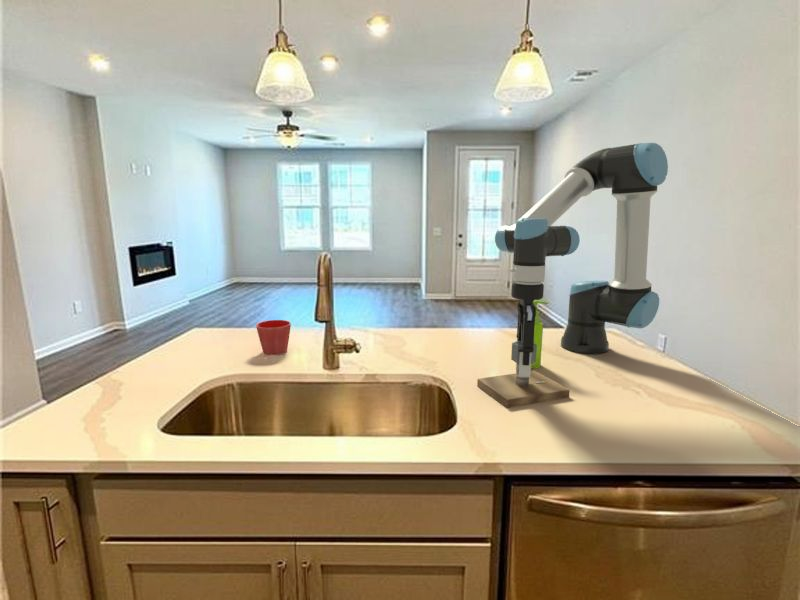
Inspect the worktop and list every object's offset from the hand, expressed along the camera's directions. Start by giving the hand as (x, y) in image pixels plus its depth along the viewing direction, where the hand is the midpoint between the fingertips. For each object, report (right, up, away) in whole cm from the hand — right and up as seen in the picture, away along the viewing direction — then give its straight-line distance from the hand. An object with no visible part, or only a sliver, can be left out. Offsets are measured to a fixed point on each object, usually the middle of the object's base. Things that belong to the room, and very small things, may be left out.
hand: (522, 371), depth 108 cm
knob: (0, +3, -1) cm, 3 cm away
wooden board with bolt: (0, -5, +1) cm, 5 cm away
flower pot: (-73, +1, +34) cm, 81 cm away
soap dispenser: (+9, -2, +21) cm, 23 cm away
